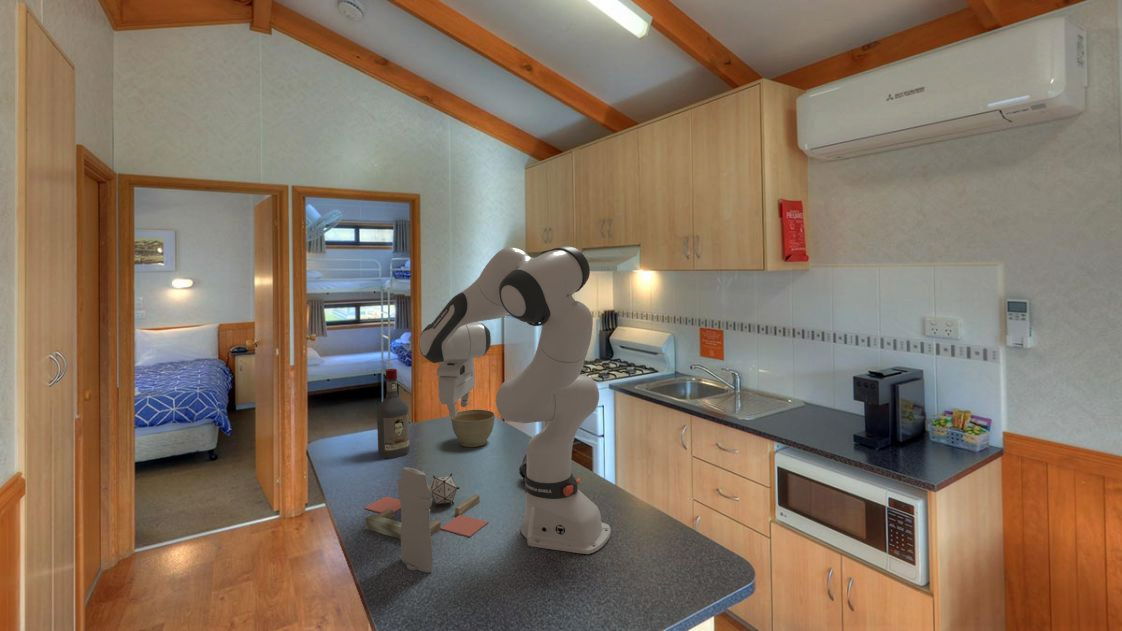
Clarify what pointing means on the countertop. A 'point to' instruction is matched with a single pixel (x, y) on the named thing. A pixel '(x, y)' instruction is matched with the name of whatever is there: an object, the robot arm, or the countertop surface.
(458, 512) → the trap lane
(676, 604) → the countertop surface
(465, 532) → the mats
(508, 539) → the countertop surface
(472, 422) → the planter bowl
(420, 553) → the tall pale column
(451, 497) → the game die
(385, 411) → the liquor
